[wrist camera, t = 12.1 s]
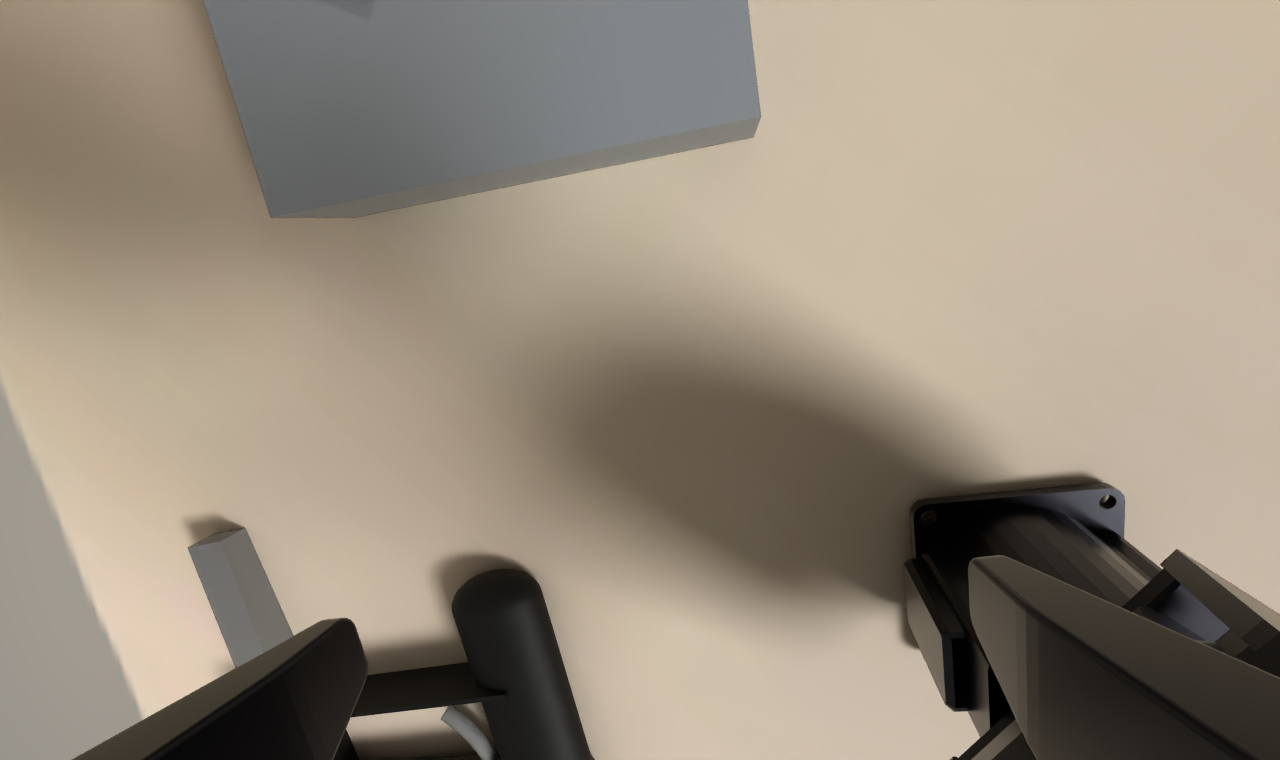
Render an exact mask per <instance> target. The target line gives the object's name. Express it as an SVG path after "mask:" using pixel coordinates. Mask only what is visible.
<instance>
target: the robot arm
mask: <svg viewBox="0 0 1280 760" xmlns="http://www.w3.org/2000/svg"><path fill="white" fill-rule="evenodd" d="M1106 495H1109V498H1108V500H1107V501H1106V502H1105V503H1101V504H1099V501H1100V499H1101V498H1102V497H1103V496H1106ZM926 511H933V513H932V515H931V516H930V517H929V518H926V519H923V518H921V515H922V514H923V513H924V512H926ZM1124 520H1125V499H1124V495H1123V494H1122V493H1121V492H1120V491H1119V490H1118V489H1116V488H1115V487H1113V486H1111V485H1109V484H1107V483H1094V484H1083V485H1072V486H1061V487H1050V488H1040V489H1029V490H1018V491H1007V492H996V493H985V494H974V495H963V496H952V497H941V498H930V499H922V500H919V501H917V502H916V503H914V504H913V506H912V507H911V509H910V522H911V537H912V551H913V558H908V560H907V561H906V562H905V564H904V576H905V589H906V602H907V616H908V623H909V626H910V628H911V630H912V632H913V635H914V637H915V639H916V641H917V643H918V646H919V648H920V651H921V653H922V655H923V657H924V659H925V661H926V663H927V666H928V668H929V670H930V672H931V674H932V677H933V679H934V681H935V683H936V685H937V688H938V690H939V692H940V694H941V697H942V699H943V701H944V703H945V705H947V706H948V707H949V708H950V709H951V710H953V711H954V712H958V711H968V713H969V715H970V717H971V719H972V721H973V723H974V725H975V727H976V729H977V731H978V733H979V735H980V737H981V738H980V739H979V740H977V741H976V742H975V743H974V744H973V745H972V746H971V747H970V748H969V749H968V750H967V751H966V752H964V753H963V754H962V755H961V756H960V757H959V758H957V757H952V758H951V759H950V760H1280V614H1279V613H1277V612H1275V611H1274V610H1272V609H1271V608H1269V607H1268V606H1266V605H1264V604H1263V603H1261V602H1260V601H1258V600H1257V599H1255V598H1253V597H1252V596H1250V595H1249V594H1247V593H1246V592H1244V591H1242V590H1241V589H1239V588H1238V587H1236V586H1235V585H1233V584H1231V583H1230V582H1228V581H1227V580H1225V579H1224V578H1222V577H1220V576H1219V575H1217V574H1216V573H1214V572H1213V571H1211V570H1209V569H1208V568H1206V567H1205V566H1203V565H1202V564H1200V563H1198V562H1197V561H1195V560H1194V559H1192V558H1191V557H1189V556H1187V555H1186V554H1184V553H1183V552H1181V551H1180V550H1178V549H1176V550H1175V551H1174V552H1173V553H1172V554H1171V555H1170V556H1169V557H1168V558H1167V559H1165V560H1164V561H1163V562H1162V563H1161V564H1160V565H1161V566H1162V567H1163V568H1164V569H1163V570H1162V569H1161V568H1160V567H1158V566H1157V565H1156V564H1155V563H1154V562H1152V561H1151V560H1150V559H1149V558H1147V557H1146V556H1145V555H1144V554H1142V553H1141V552H1140V551H1139V550H1137V549H1136V548H1135V547H1134V546H1132V545H1131V544H1130V543H1129V542H1127V541H1126V540H1125V539H1124ZM367 673H368V662H367V659H366V656H365V653H364V650H363V647H362V644H361V641H360V638H359V635H358V632H357V629H356V627H355V624H354V623H353V622H352V621H351V620H350V619H348V618H337V619H327V620H322V621H320V622H318V623H316V624H314V625H312V626H311V627H309V628H307V629H305V630H304V631H302V632H300V633H298V634H296V635H295V636H293V637H291V638H289V639H287V640H286V641H284V642H282V643H280V644H278V645H277V646H275V647H273V648H271V649H269V650H268V651H266V652H264V653H262V654H260V655H259V656H257V657H255V658H253V659H251V660H250V661H248V662H246V663H244V664H243V665H241V666H239V667H237V668H235V669H234V670H232V671H230V672H228V673H226V674H225V675H223V676H221V677H219V678H217V679H216V680H214V681H212V682H210V683H208V684H207V685H205V686H203V687H201V688H199V689H198V690H196V691H194V692H192V693H190V694H189V695H187V696H185V697H183V698H181V699H180V700H178V701H176V702H174V703H173V704H171V705H169V706H167V707H165V708H164V709H162V710H160V711H158V712H156V713H155V714H153V715H151V716H149V717H147V718H146V719H144V720H142V721H140V722H138V723H137V724H135V725H133V726H131V727H130V728H128V729H126V730H124V731H122V732H121V733H119V734H117V735H115V736H113V737H112V738H110V739H108V740H106V741H104V742H103V743H101V744H99V745H97V746H95V747H94V748H92V749H90V750H88V751H86V752H85V753H83V754H81V755H79V756H77V757H76V758H74V759H72V760H333V759H334V756H335V754H336V751H337V749H338V746H339V744H340V742H341V739H342V737H343V734H344V732H345V730H346V727H347V725H348V722H349V720H350V717H351V715H352V713H353V710H354V708H355V705H356V703H357V701H358V698H359V696H360V693H361V691H362V688H363V686H364V684H365V681H366V678H367Z"/></svg>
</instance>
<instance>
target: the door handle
mask: <svg viewBox="0 0 1280 760" xmlns="http://www.w3.org/2000/svg"><path fill="white" fill-rule="evenodd" d="M188 550H189V553H190V555H191V558H192V560H193V563H194V565H195V568H196V570H197V573H198V575H199V578H200V580H201V583H202V585H203V588H204V590H205V593H206V595H207V598H208V600H209V603H210V605H211V608H212V610H213V613H214V615H215V618H216V620H217V623H218V625H219V628H220V630H221V633H222V635H223V638H224V640H225V643H226V645H227V648H228V650H229V653H230V655H231V658H232V660H233V663H234V665H235V668H237V667H239V666H241V665H243V664H244V663H246V662H248V661H250V660H251V659H253V658H255V657H257V656H259V655H260V654H262V653H264V652H266V651H268V650H269V649H271V648H273V647H275V646H277V645H278V644H280V643H282V642H284V641H286V640H287V639H289V638H291V637H293V634H292V631H291V629H290V627H289V625H288V622H287V620H286V618H285V616H284V614H283V611H282V609H281V607H280V605H279V602H278V600H277V598H276V596H275V593H274V591H273V589H272V587H271V584H270V582H269V580H268V578H267V575H266V573H265V571H264V569H263V566H262V564H261V562H260V560H259V557H258V555H257V553H256V551H255V548H254V546H253V544H252V542H251V539H250V537H249V535H248V533H247V531H246V528H241V529H236V530H231V531H226V532H221V533H216V534H212V535H211V536H209V537H207V538H205V539H203V540H201V541H199V542H198V543H196V544H194V545H192V546H190V547H188ZM452 613H453V616H454V619H455V622H456V625H457V628H458V631H459V634H460V637H461V640H462V643H463V646H464V650H465V653H466V656H467V659H468V662H466V663H459V664H451V665H443V666H436V667H428V668H420V669H413V670H405V671H397V672H390V673H382V674H375V675H367V678H366V681H365V684H364V686H363V688H362V691H361V693H360V696H359V698H358V701H357V703H356V705H355V708H354V710H353V713H352V715H351V717H357V716H366V715H375V714H383V713H392V712H400V711H409V710H417V709H426V708H435V707H443V706H449V707H448V708H447V710H446V711H445V713H444V714H443V716H442V718H441V720H442V721H444V722H445V723H446V724H448V725H449V726H450V727H451V728H453V729H454V730H455V731H456V732H457V733H459V734H460V735H461V736H462V737H463V738H464V739H465V740H466V741H467V742H468V743H469V744H470V745H471V746H472V748H473V749H474V750H475V751H476V752H477V754H478V755H471V756H461V757H451V758H440V759H430V760H595V759H594V758H593V757H592V756H591V755H590V751H589V748H588V744H587V741H586V738H585V734H584V731H583V728H582V724H581V721H580V718H579V714H578V711H577V708H576V704H575V701H574V697H573V694H572V691H571V687H570V684H569V681H568V677H567V674H566V671H565V667H564V664H563V661H562V657H561V654H560V650H559V647H558V644H557V640H556V637H555V634H554V630H553V627H552V624H551V620H550V617H549V614H548V610H547V607H546V603H545V600H544V597H543V593H542V590H541V587H540V585H539V584H538V583H537V581H536V580H535V579H534V578H532V577H531V576H529V575H528V574H525V573H523V572H520V571H516V570H508V569H501V570H493V571H488V572H485V573H482V574H480V575H477V576H475V577H473V578H472V579H470V580H469V581H467V582H466V583H465V584H464V585H462V586H461V588H460V589H459V590H458V591H457V593H456V594H455V596H454V599H453V602H452ZM478 702H482V705H483V708H484V711H485V714H486V717H487V720H488V723H489V726H490V729H491V732H492V735H493V738H494V741H495V744H496V747H497V750H498V753H496V752H495V750H494V748H493V747H492V745H491V743H490V742H489V740H488V739H487V738H486V736H485V735H484V734H483V733H482V732H481V730H480V729H479V728H478V727H477V726H476V725H475V724H474V723H473V722H472V721H471V720H470V719H469V718H468V717H467V716H466V715H464V714H463V713H462V712H461V711H460V710H458V709H457V708H456V707H454V706H453V705H460V704H469V703H478ZM333 760H359V758H358V755H357V753H356V751H355V749H354V746H353V744H352V742H351V740H350V737H349V735H348V733H347V731H346V730H345V732H344V734H343V737H342V739H341V742H340V744H339V746H338V749H337V751H336V754H335V756H334V759H333Z"/></svg>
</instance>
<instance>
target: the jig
mask: <svg viewBox="0 0 1280 760" xmlns="http://www.w3.org/2000/svg"><path fill="white" fill-rule="evenodd" d="M203 2H204V5H205V8H206V12H207V15H208V18H209V21H210V24H211V28H212V31H213V34H214V37H215V41H216V44H217V47H218V50H219V53H220V57H221V60H222V63H223V66H224V69H225V73H226V76H227V79H228V82H229V86H230V89H231V92H232V95H233V98H234V102H235V105H236V108H237V111H238V115H239V118H240V121H241V124H242V127H243V131H244V134H245V137H246V140H247V143H248V147H249V150H250V153H251V156H252V160H253V163H254V166H255V169H256V172H257V176H258V179H259V182H260V185H261V188H262V192H263V195H264V198H265V201H266V205H267V208H268V211H269V214H270V217H271V218H354V217H359V216H364V215H369V214H374V213H379V212H384V211H389V210H394V209H399V208H404V207H409V206H414V205H419V204H424V203H429V202H434V201H439V200H444V199H449V198H454V197H459V196H464V195H469V194H474V193H479V192H484V191H489V190H494V189H499V188H504V187H509V186H514V185H519V184H524V183H529V182H534V181H539V180H543V179H548V178H553V177H558V176H563V175H568V174H573V173H578V172H583V171H588V170H593V169H598V168H603V167H608V166H613V165H618V164H623V163H628V162H633V161H638V160H643V159H648V158H653V157H658V156H663V155H668V154H673V153H678V152H683V151H688V150H693V149H698V148H703V147H708V146H713V145H718V144H723V143H728V142H732V141H737V140H742V139H747V138H752V137H754V135H755V132H756V129H757V126H758V123H759V121H760V118H761V112H760V103H759V95H758V86H757V77H756V69H755V60H754V52H753V43H752V34H751V26H750V17H749V9H748V0H203Z"/></svg>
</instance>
